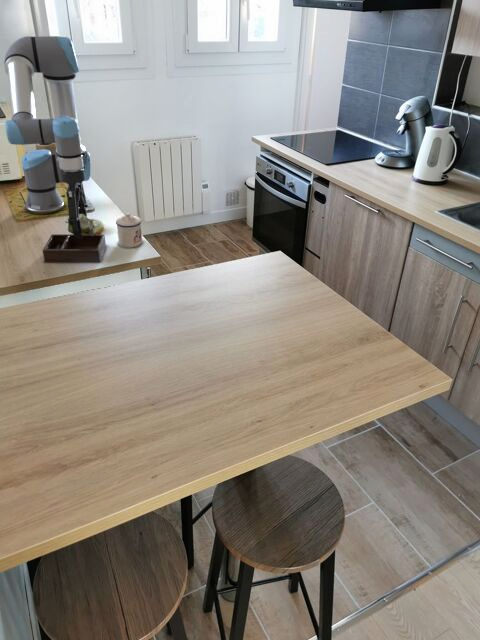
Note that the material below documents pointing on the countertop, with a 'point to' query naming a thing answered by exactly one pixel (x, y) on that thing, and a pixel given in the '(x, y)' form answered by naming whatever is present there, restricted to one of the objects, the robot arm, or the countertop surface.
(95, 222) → the decorated donut
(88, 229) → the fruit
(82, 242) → the caddy
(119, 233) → the teacup with lid
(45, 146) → the stone cup
